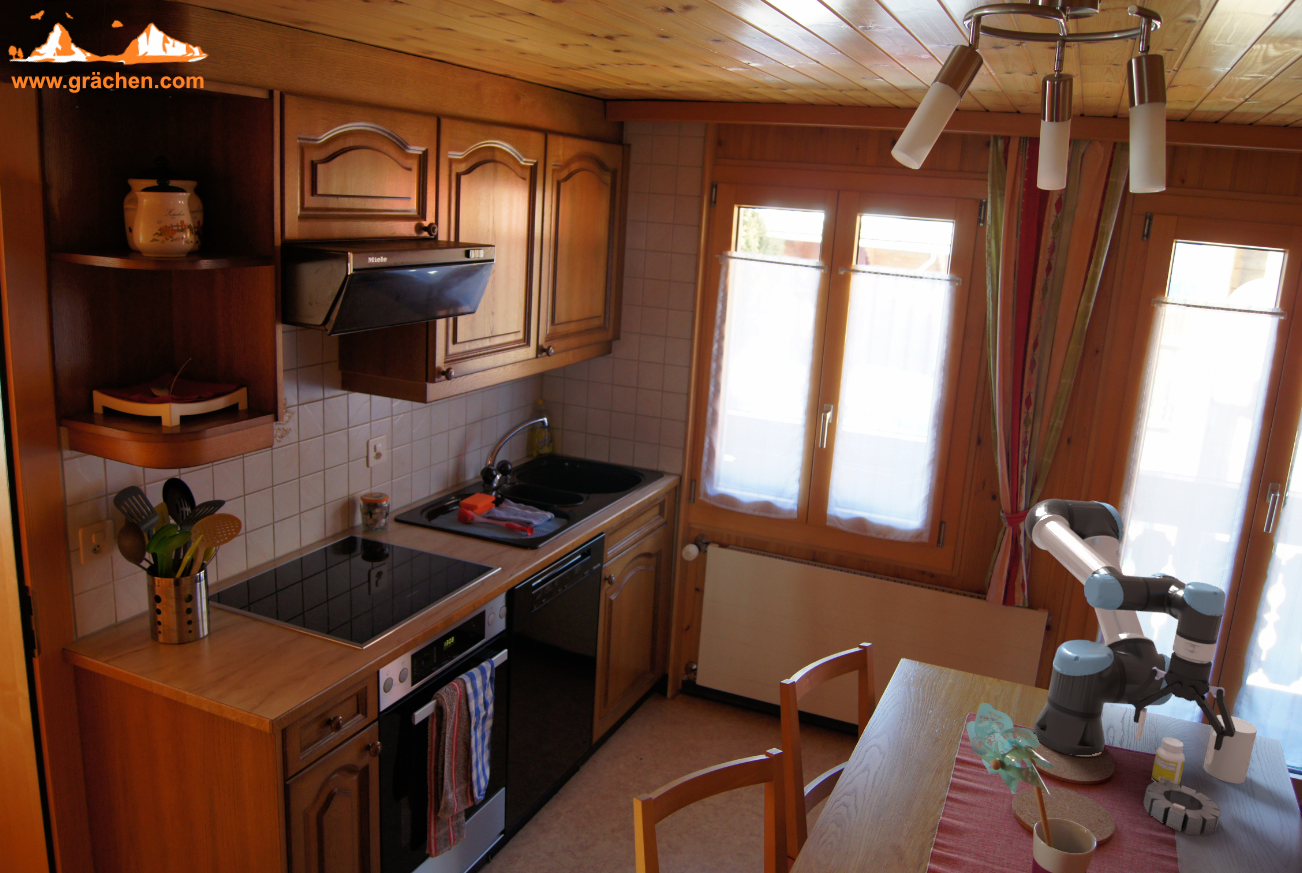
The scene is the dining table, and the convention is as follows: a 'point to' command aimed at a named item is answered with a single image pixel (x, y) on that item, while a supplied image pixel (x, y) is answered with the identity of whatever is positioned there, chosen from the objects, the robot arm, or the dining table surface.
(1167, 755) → the supplement bottle
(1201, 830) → the grey segmented ring
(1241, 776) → the white cylinder
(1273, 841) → the dining table surface
